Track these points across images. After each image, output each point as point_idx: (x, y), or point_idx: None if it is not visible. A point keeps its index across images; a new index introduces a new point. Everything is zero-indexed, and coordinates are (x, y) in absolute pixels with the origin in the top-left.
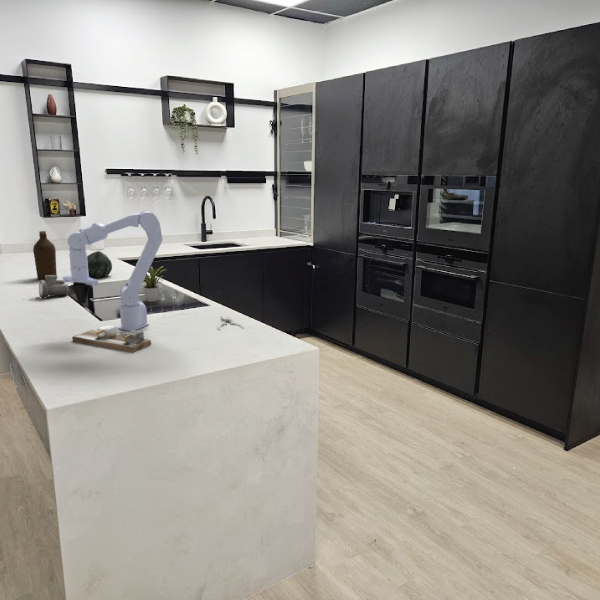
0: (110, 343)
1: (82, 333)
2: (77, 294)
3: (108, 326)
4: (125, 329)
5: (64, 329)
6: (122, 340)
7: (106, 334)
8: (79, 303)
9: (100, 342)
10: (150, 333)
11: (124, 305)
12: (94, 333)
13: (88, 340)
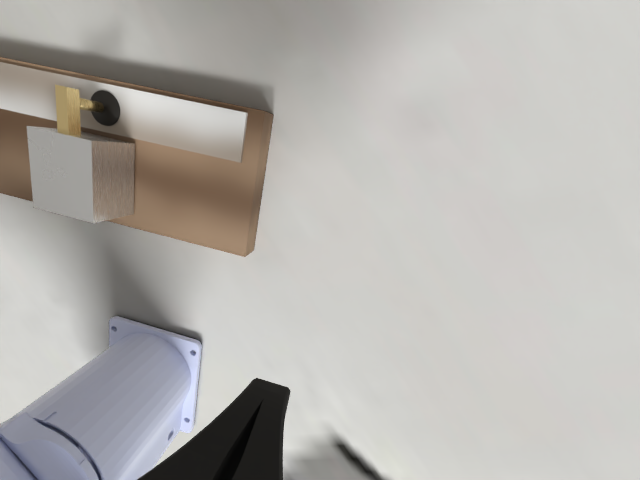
0: (16, 65)
1: (251, 186)
2: (235, 473)
3: (68, 201)
4: (147, 326)
5: (441, 293)
6: (5, 130)
7: (55, 129)
8: (278, 386)
9: (74, 72)
10: (42, 302)
11: (11, 420)
12: (192, 201)
13: (152, 88)
